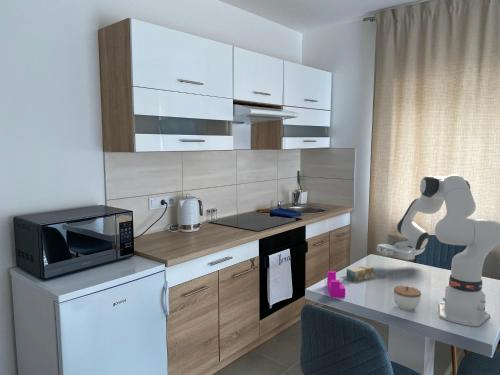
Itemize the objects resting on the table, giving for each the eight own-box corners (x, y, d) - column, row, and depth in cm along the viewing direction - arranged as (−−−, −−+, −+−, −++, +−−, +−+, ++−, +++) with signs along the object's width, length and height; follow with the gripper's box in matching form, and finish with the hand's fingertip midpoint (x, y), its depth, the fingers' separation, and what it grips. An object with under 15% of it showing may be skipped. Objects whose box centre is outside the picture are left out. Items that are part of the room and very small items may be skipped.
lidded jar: (392, 301, 168) (393, 280, 167) (418, 304, 165) (420, 283, 164) (393, 310, 158) (394, 289, 157) (421, 314, 155) (422, 292, 154)
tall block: (366, 265, 202) (346, 269, 195) (373, 267, 198) (353, 271, 191) (365, 274, 203) (346, 278, 196) (373, 277, 198) (353, 281, 191)
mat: (370, 271, 209) (370, 270, 208) (386, 277, 199) (386, 276, 199) (340, 278, 198) (340, 277, 198) (355, 284, 188) (355, 283, 188)
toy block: (344, 298, 172) (345, 282, 171) (331, 297, 172) (331, 281, 171) (339, 286, 187) (340, 271, 186) (327, 285, 187) (327, 271, 186)
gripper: (386, 240, 220) (369, 243, 213) (417, 248, 203) (400, 252, 196) (386, 250, 221) (369, 254, 214) (417, 260, 203) (399, 263, 197)
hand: (384, 253), depth 205 cm, fingers closed
